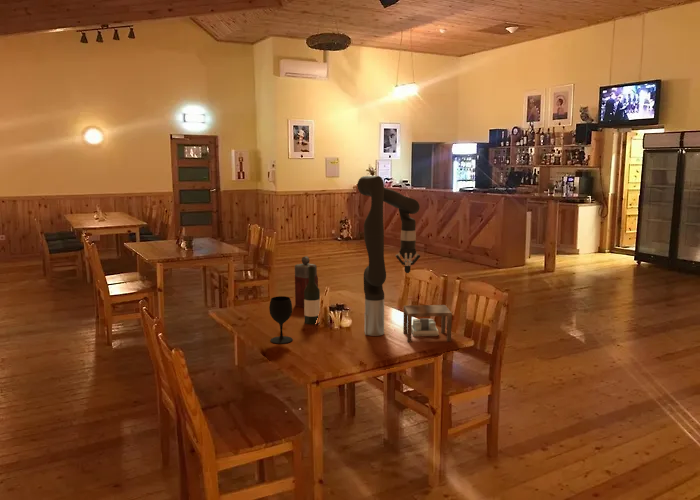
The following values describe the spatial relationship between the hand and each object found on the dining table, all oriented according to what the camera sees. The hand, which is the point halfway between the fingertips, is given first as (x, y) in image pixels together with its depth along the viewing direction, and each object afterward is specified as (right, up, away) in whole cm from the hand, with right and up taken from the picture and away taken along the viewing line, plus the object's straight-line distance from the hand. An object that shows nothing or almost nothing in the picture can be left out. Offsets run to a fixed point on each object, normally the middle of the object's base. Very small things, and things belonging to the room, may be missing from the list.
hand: (407, 272), depth 295 cm
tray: (+7, -28, -15) cm, 33 cm away
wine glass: (-61, -31, -26) cm, 73 cm away
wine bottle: (-48, -26, +2) cm, 55 cm away
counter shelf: (+7, -29, -22) cm, 37 cm away
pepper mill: (-53, -20, +36) cm, 68 cm away
